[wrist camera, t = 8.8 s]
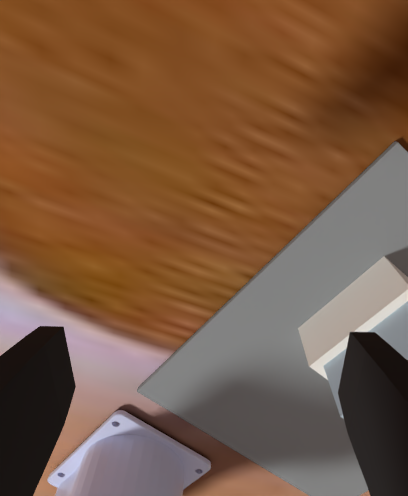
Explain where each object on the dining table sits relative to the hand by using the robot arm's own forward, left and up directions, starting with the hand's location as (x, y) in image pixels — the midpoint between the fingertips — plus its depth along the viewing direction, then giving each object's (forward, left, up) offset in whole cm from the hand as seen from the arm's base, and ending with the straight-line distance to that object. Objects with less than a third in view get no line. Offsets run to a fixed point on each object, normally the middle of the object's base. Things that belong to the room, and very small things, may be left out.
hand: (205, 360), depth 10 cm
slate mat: (-2, -13, -10) cm, 17 cm away
